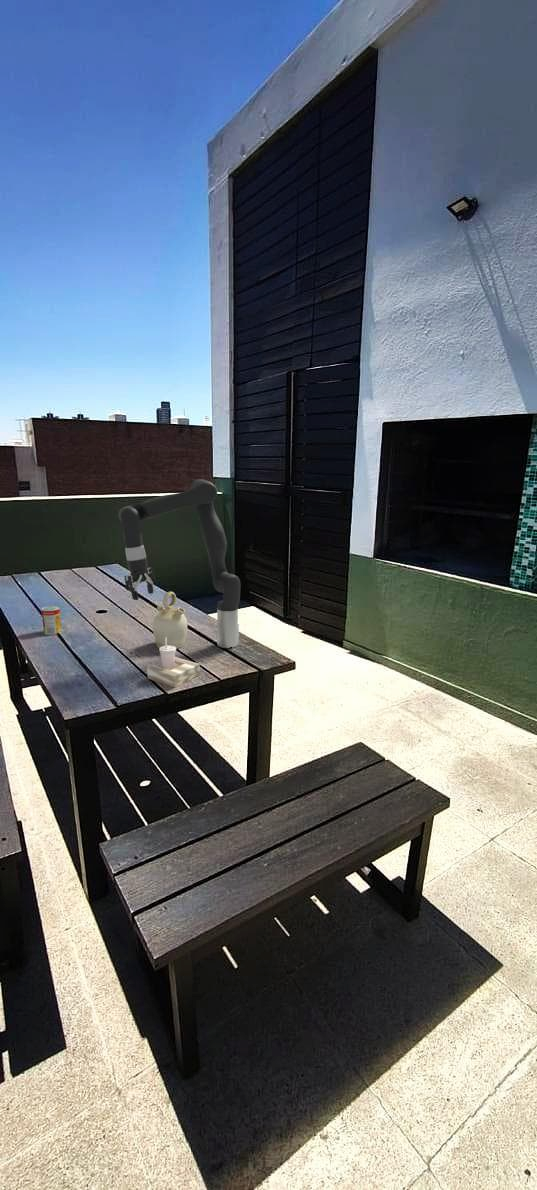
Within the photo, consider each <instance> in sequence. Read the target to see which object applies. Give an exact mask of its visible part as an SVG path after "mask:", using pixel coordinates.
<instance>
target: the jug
mask: <svg viewBox="0 0 537 1190" xmlns="http://www.w3.org/2000/svg"><path fill="white" fill-rule="evenodd" d="M176 595H177V594H175V592H174V591H167V592H166V593H164V596H163V597H162V605H160V604H157V606H156V607H157V609H156V610H157V611H158V613H156V615H155V616H154V618H153V621H152V625H151V626H152V632H153V637H154V641H155V644H156V645H155V646H156V647H157V648H158V649H159V648H160V647H162V646H165V637H167V645H171V646H175V647H176V650H177V649H180V648H182V647H183V646H184V645H185V641H186V637H187V632H188V620H187V618H186V616H185V613H186V610H185V608H183V607H181V606H177V609H175V605H176V602H177V596H176ZM170 597H171V601H170V603H168V602H169V598H170Z"/></svg>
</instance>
